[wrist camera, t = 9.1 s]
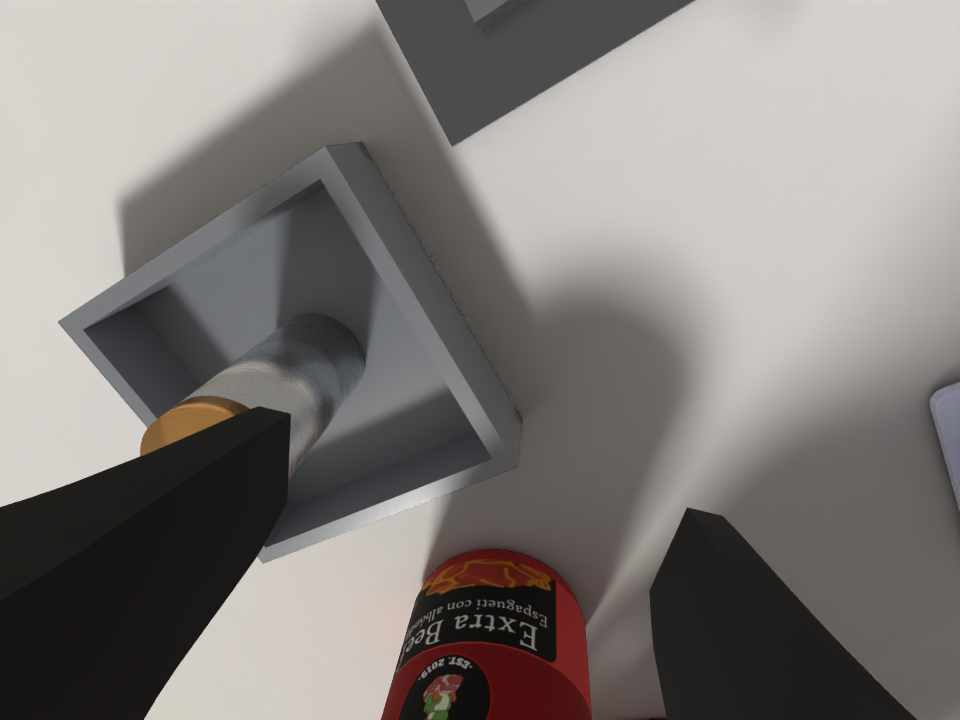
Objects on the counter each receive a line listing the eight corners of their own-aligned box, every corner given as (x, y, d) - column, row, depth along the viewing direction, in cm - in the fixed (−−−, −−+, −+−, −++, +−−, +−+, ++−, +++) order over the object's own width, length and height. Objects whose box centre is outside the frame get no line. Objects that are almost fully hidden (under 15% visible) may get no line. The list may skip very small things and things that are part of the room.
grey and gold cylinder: (382, 350, 19) (296, 465, 13) (338, 415, 20) (240, 548, 14) (299, 294, 19) (167, 385, 12) (260, 365, 20) (122, 479, 14)
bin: (362, 141, 17) (324, 145, 14) (522, 420, 20) (517, 466, 17) (124, 294, 20) (57, 322, 17) (297, 511, 23) (263, 563, 21)
